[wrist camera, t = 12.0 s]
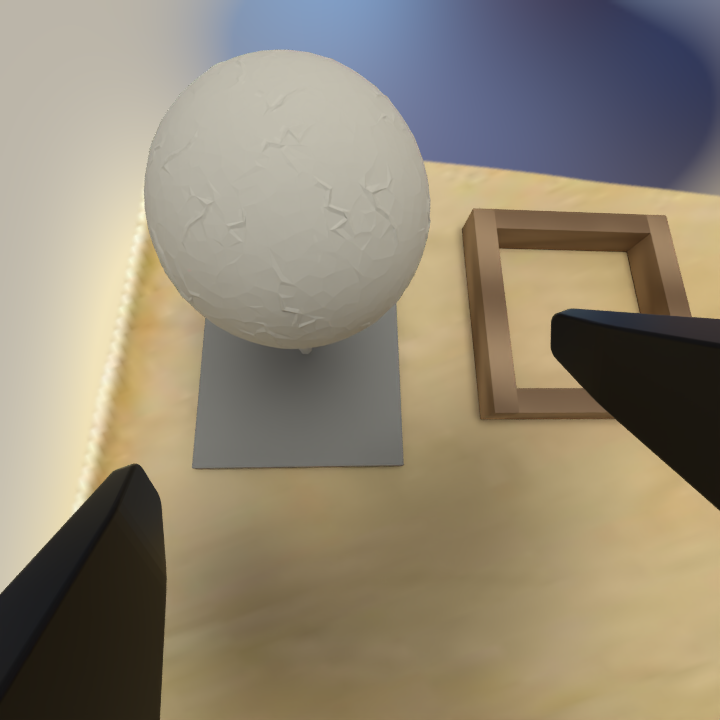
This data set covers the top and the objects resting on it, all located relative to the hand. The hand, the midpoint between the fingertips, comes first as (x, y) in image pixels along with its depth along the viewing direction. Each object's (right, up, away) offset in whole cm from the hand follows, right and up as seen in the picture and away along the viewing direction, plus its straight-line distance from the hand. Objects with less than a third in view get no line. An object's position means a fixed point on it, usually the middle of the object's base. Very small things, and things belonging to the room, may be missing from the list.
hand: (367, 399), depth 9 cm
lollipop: (-3, +1, +14) cm, 14 cm away
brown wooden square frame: (+12, +3, +16) cm, 20 cm away
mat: (-3, +1, +14) cm, 14 cm away
